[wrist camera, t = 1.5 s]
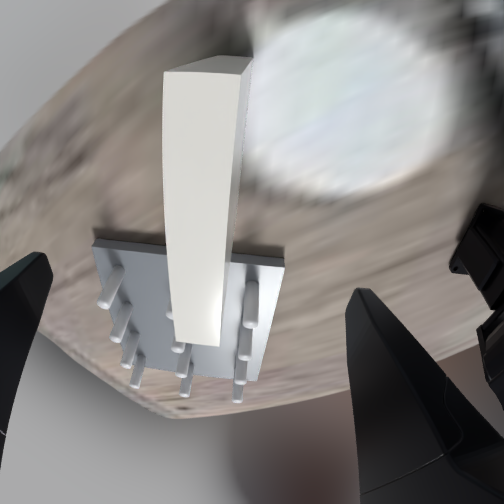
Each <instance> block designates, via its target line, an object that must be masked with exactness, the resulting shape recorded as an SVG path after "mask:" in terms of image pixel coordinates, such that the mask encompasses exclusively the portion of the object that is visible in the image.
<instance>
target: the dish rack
mask: <svg viewBox="0 0 504 504" xmlns="http://www.w3.org/2000/svg"><path fill="white" fill-rule="evenodd" d="M92 251H93V255H94V259H95V263H96V266H97V270H98V274H99V278H100V281H101V285H102V288H103V290H102V292H101V294H100V296H99V298H98V300H97V304H98V305H99V306H100V307H101V308H103V309H109V311H110V314H111V317H112V320H113V324H114V326H113V329H112V331H111V334H110V336H109V338H110V339H111V340H112V341H113V342H116V343H120V344H121V346H122V349H123V352H124V353H123V356H122V360H121V363H120V365H121V366H122V367H124V368H127V369H129V368H131V365H135V366H134V370H133V373H132V377H131V380H130V384H129V385H130V386H131V387H132V388H135V389H138V388H139V386H140V382H141V378H142V375H143V371H144V367H147V368H153V369H159V370H165V371H172V372H176V373H175V375H176V376H177V377H180V378H182V381H181V386H180V392H179V395H180V396H182V397H189V396H190V390H191V384H192V377H193V375H200V376H208V377H217V378H227V379H233V392H232V402H234V403H241V402H242V401H243V384H246V382H247V380H249V381H257V378H258V374H259V370H260V367H261V363H262V359H263V355H264V351H265V347H266V343H267V339H268V335H269V331H270V327H271V323H272V319H273V315H274V311H275V307H276V303H277V299H278V294H279V290H280V286H281V282H282V278H283V273H284V269H285V264H284V258H274V257H265V256H255V255H246V254H236V253H231V260H230V267H229V275H228V282H227V290H226V298H225V306H224V314H223V322H222V330H221V338H220V346H219V347H217V346H208V345H200V344H192V343H185V342H177V341H176V337H175V329H174V321H173V312H172V303H171V294H170V284H169V273H168V261H167V248H166V246H161V245H152V244H143V243H133V242H124V241H115V240H106V239H96V241H95V242H94V244H93V245H92Z"/></svg>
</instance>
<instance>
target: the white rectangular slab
mask: <svg viewBox="0 0 504 504" xmlns="http://www.w3.org/2000/svg"><path fill="white" fill-rule="evenodd" d="M253 59H254V58H250V57H239V56H226V55H218V56H214V57H210V58H207V59H203V60H200V61H196V62H193V63H189V64H186V65H183V66H180V67H177V68H174V69H171V70H168V71H165V72H164V82H163V124H162V149H163V193H164V215H165V233H166V248H167V261H168V273H169V284H170V294H171V303H172V312H173V321H174V329H175V337H176V341H177V342H185V343H192V344H200V345H208V346H217V347H219V346H220V338H221V330H222V322H223V314H224V306H225V298H226V290H227V282H228V275H229V267H230V260H231V252H232V245H233V238H234V230H235V223H236V216H237V206H238V195H239V185H240V175H241V166H242V156H243V147H244V137H245V128H246V119H247V110H248V101H249V92H250V84H251V75H252V67H253Z"/></svg>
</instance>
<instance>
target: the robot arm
mask: <svg viewBox="0 0 504 504" xmlns="http://www.w3.org/2000/svg"><path fill="white" fill-rule="evenodd" d="M483 210H484V211H483ZM449 269H450V271H451V272H452V273H456V274H466V275H469V276H470V277H471V279H472V281H473V282H474V284H475V286H476V287H477V289H478V290H479V291H480V292H481V294H482V295H483V297H484V299H485V301H486V303H487V304H488V306H489V308H490V310H493V311H494V312H493V314H492V315H491V316H490V317H489V318H488V319H487V320H486V321H485V322H484V323H483V324H482V325H480V326H479V327H478V328H477V329H476V331H477V336H478V341H479V346H480V351H481V356H482V362H483V368H484V373H485V379H486V381H487V382H488V384H489V386H490V388H491V389H492V390H493V392H494V393H495V394H496V396H497V398H498V399H499V401H500V403H501V405H502V407H503V410H504V209H501V208H498V207H495V206H492V205H489V204H485V203H483V204H481V205H480V206H479V207H478V209H477V211H476V213H475V216H474V218H473V220H472V222H471V224H470V226H469V228H468V230H467V232H466V234H465V237H464V239H463V240H462V242H461V244H460V246H459V248H458V250H457V252H456V254H455V256H454V258H453V260H452V261H451V263H450V265H449ZM52 281H53V272H52V269H51V267H50V264H49V261H48V258H47V256H46V254H45V253H42V252H32V253H30V254H29V255H27V256H25V257H24V258H22V259H21V260H19V261H17V262H16V263H14V264H13V265H11V266H9V267H8V268H6V269H5V270H3V271H2V272H0V468H1V461H2V455H3V449H4V443H5V438H6V433H7V428H8V423H9V419H10V415H11V411H12V406H13V403H14V399H15V395H16V392H17V388H18V385H19V381H20V378H21V375H22V371H23V368H24V365H25V362H26V359H27V356H28V353H29V350H30V347H31V344H32V341H33V339H34V336H35V333H36V331H37V328H38V326H39V323H40V320H41V316H42V313H43V310H44V306H45V303H46V300H47V297H48V294H49V290H50V287H51V284H52ZM345 321H346V346H347V366H348V374H349V382H350V390H351V398H352V406H353V415H354V424H355V434H356V444H357V457H358V469H359V485H360V494H361V495H360V504H504V438H503V437H502V436H500V434H499V433H498V432H497V431H496V430H495V429H494V428H493V427H492V426H491V425H490V423H489V422H488V421H487V420H486V419H485V418H484V417H483V416H482V415H481V414H480V413H479V412H478V411H477V410H476V408H475V407H474V406H473V405H472V404H471V403H470V402H469V401H468V400H467V399H466V397H465V396H464V395H463V394H462V393H461V392H460V390H459V389H458V388H457V387H456V386H455V384H454V383H453V382H452V381H451V380H450V379H449V377H446V374H445V373H444V371H443V370H442V369H441V368H440V367H439V365H438V364H437V363H436V362H435V361H434V359H433V358H432V357H431V356H430V355H429V354H428V352H427V351H426V350H425V349H424V348H423V347H422V346H421V344H420V343H419V342H418V341H417V340H416V339H415V338H414V336H413V335H412V334H411V333H410V332H409V331H408V330H407V328H406V327H405V326H404V325H403V324H402V323H401V322H400V321H399V320H398V318H397V317H396V316H395V315H394V314H393V313H392V312H391V311H390V310H389V309H388V307H387V306H386V305H385V304H384V303H383V302H382V301H381V300H380V299H379V298H378V297H377V295H376V294H375V293H374V292H373V291H372V290H371V289H368V288H356V289H355V290H354V292H353V294H352V296H351V299H350V301H349V303H348V305H347V308H346V312H345Z"/></svg>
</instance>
